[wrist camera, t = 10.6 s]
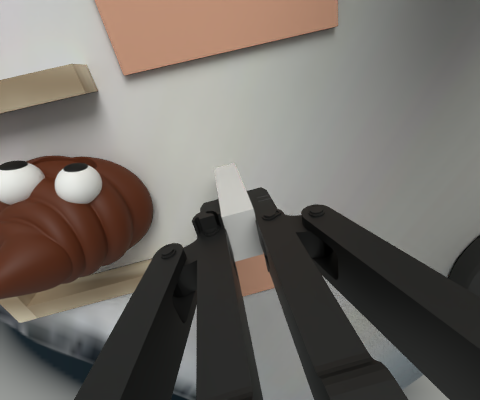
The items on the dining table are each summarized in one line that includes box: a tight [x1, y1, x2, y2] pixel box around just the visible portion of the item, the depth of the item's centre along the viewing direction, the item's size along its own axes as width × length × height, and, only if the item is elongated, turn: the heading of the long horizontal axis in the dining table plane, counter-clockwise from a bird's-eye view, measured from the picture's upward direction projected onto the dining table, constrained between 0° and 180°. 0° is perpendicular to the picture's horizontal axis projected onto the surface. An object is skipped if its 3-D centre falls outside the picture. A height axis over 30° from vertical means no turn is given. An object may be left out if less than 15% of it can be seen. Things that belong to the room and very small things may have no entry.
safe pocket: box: [0, 64, 152, 323], centre depth 18 cm, size 17×14×2 cm
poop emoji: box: [0, 156, 153, 299], centre depth 15 cm, size 10×8×9 cm
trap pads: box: [95, 0, 338, 296], centre depth 19 cm, size 29×14×1 cm, turn 12°
